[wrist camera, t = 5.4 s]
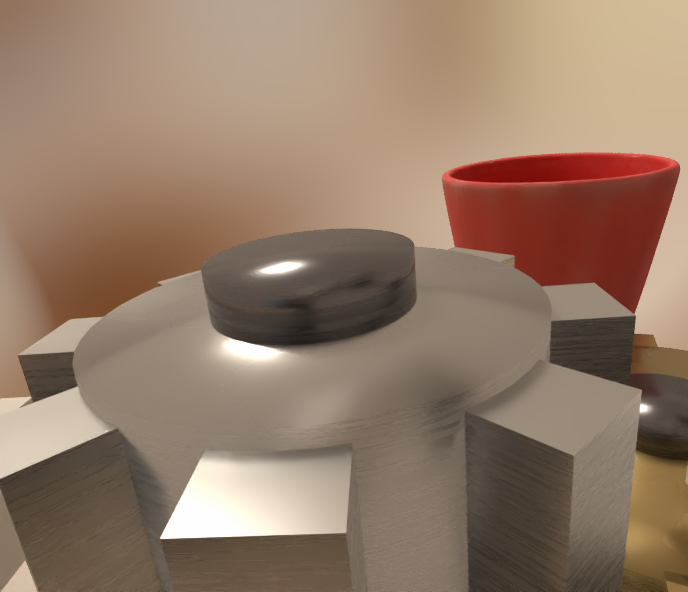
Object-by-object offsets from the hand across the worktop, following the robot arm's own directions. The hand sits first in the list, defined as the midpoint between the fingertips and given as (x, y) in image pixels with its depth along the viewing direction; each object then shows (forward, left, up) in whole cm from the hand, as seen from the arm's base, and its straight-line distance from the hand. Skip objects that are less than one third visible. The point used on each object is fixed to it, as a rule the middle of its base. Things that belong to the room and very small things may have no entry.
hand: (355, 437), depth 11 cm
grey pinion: (0, +3, -6) cm, 7 cm away
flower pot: (-10, -19, -7) cm, 22 cm away
